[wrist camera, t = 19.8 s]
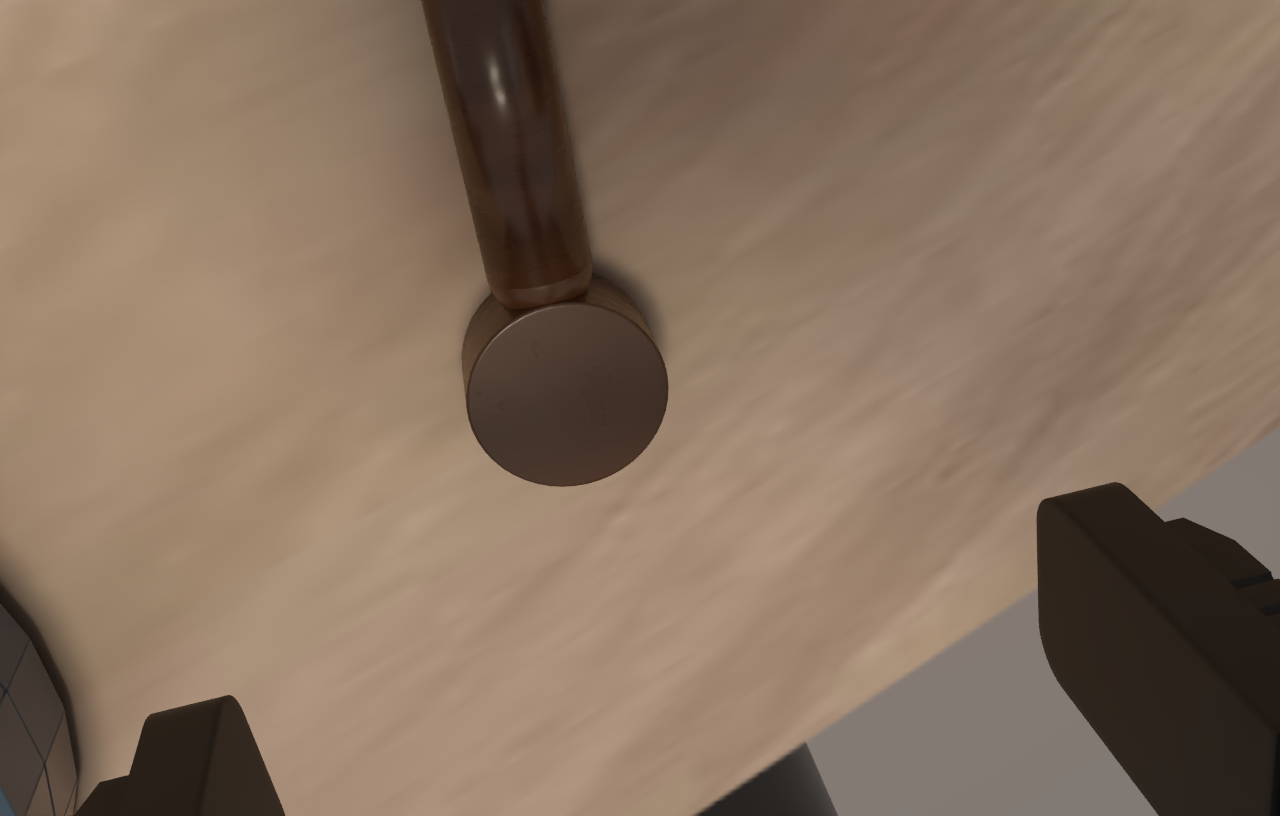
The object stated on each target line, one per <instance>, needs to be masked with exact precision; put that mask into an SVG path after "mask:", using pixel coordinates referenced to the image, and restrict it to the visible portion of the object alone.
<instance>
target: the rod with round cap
mask: <svg viewBox="0 0 1280 816" xmlns="http://www.w3.org/2000/svg"><path fill="white" fill-rule="evenodd" d="M421 2H422V7H423V11H424V15H425V19H426V23H427V28H428V32H429V36H430V40H431V45H432V49H433V53H434V57H435V61H436V66H437V70H438V74H439V78H440V82H441V87H442V91H443V95H444V99H445V104H446V108H447V112H448V116H449V120H450V125H451V129H452V133H453V137H454V142H455V146H456V150H457V154H458V158H459V163H460V167H461V171H462V175H463V180H464V184H465V188H466V192H467V196H468V201H469V205H470V209H471V213H472V217H473V222H474V226H475V230H476V234H477V239H478V243H479V247H480V251H481V255H482V260H483V264H484V268H485V272H486V277H487V280H488V283H489V286H490V289H491V291H492V293H493V294H492V295H491V296H490V297H489V298H488V299H487V300H486V301H485V302H484V303H483V304H482V306H481V307H480V308H479V309H478V311H477V312H476V314H475V316H474V317H473V319H472V321H471V323H470V325H469V328H468V330H467V332H466V336H465V340H464V344H463V351H462V369H463V378H464V388H465V397H466V407H467V413H468V418H469V422H470V425H471V428H472V431H473V433H474V435H475V437H476V439H477V441H478V442H479V444H480V445H481V447H482V448H483V450H484V451H485V452H486V453H487V454H488V455H489V456H490V458H491V459H492V460H493V461H495V462H496V463H497V464H498V465H499V466H501V467H502V468H503V469H505V470H507V471H508V472H510V473H511V474H513V475H515V476H517V477H520V478H522V479H524V480H527V481H530V482H533V483H537V484H542V485H548V486H561V487H563V486H577V485H583V484H588V483H591V482H595V481H598V480H601V479H603V478H606V477H608V476H610V475H612V474H614V473H616V472H618V471H620V470H621V469H623V468H624V467H626V466H627V465H628V464H630V463H631V462H633V461H634V460H635V459H636V458H637V457H638V456H639V455H640V454H641V453H642V452H643V451H644V450H645V448H646V447H647V446H648V445H649V444H650V442H651V441H652V439H653V438H654V436H655V435H656V433H657V431H658V429H659V427H660V425H661V423H662V420H663V417H664V414H665V411H666V406H667V401H668V377H667V372H666V368H665V364H664V361H663V359H662V356H661V354H660V351H659V349H658V347H657V345H656V343H655V341H654V339H653V337H652V335H651V333H650V330H649V328H648V326H647V324H646V322H645V320H644V318H643V316H642V314H641V312H640V311H639V309H638V307H637V306H636V305H635V303H634V302H633V301H632V300H631V298H630V297H629V296H628V295H627V294H626V293H625V292H624V291H623V290H622V289H620V288H619V287H617V286H616V285H615V284H613V283H612V282H610V281H608V280H606V279H605V278H603V277H601V276H598V275H595V274H593V273H592V272H593V267H592V256H591V251H590V246H589V241H588V236H587V230H586V225H585V220H584V215H583V210H582V205H581V199H580V194H579V189H578V184H577V179H576V173H575V168H574V163H573V158H572V153H571V148H570V142H569V137H568V132H567V127H566V122H565V117H564V111H563V106H562V101H561V96H560V91H559V86H558V80H557V75H556V70H555V65H554V60H553V55H552V49H551V44H550V39H549V34H548V29H547V24H546V18H545V13H544V8H543V3H542V0H421Z"/></svg>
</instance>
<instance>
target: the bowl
mask: <svg viewBox="0 0 1280 816" xmlns="http://www.w3.org/2000/svg"><path fill="white" fill-rule="evenodd" d="M76 788H77V775H76V769H75V764H74V758H73V753H72V747H71V741H70V736H69V730H68V725H67V719H66V714H65V711H64V706H63V704H62V702H61V700H60V698H59V696H58V694H57V692H56V690H55V688H54V686H53V684H52V682H51V680H50V678H49V676H48V674H47V672H46V670H45V668H44V666H43V664H42V662H41V660H40V658H39V656H38V654H37V651H36V649H35V647H34V645H33V643H32V641H31V640H30V639H29V637H28V635H27V634H26V633H25V632H24V631H23V629H22V628H21V627H20V626H19V625H18V624H17V622H16V621H15V620H14V619H13V618H12V616H11V615H10V614H9V613H8V612H7V611H6V609H5V608H4V607H3V606H2V605H1V603H0V816H73V811H74V804H75V796H76Z"/></svg>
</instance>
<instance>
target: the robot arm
mask: <svg viewBox="0 0 1280 816" xmlns="http://www.w3.org/2000/svg"><path fill="white" fill-rule="evenodd" d="M1037 563H1038V608H1039V629H1040V635H1041V640H1042V644H1043V648H1044V651H1045V654H1046V657H1047V660H1048V662H1049V665H1050V667H1051V669H1052V671H1053V673H1054V675H1055V677H1056V679H1057V681H1058V682H1059V684H1060V685H1061V687H1062V688H1063V689H1064V691H1065V692H1066V693H1067V695H1068V696H1069V697H1070V699H1071V700H1072V701H1073V703H1074V704H1075V705H1076V707H1077V708H1078V709H1079V711H1080V712H1081V713H1082V715H1083V716H1084V717H1085V718H1086V720H1087V721H1088V722H1089V724H1090V725H1091V726H1092V728H1093V729H1094V730H1095V732H1096V733H1097V734H1098V736H1099V737H1100V738H1101V739H1102V741H1103V742H1104V744H1105V745H1106V746H1107V748H1108V749H1109V750H1110V751H1111V753H1112V754H1113V755H1114V757H1115V758H1116V759H1117V761H1118V762H1119V763H1120V765H1121V766H1122V767H1123V769H1124V770H1125V771H1126V773H1127V774H1128V775H1129V777H1130V778H1131V779H1132V781H1133V782H1134V783H1135V784H1136V786H1137V787H1138V789H1139V790H1140V791H1141V793H1142V794H1143V795H1144V796H1145V798H1146V799H1147V800H1148V802H1149V803H1150V804H1151V806H1152V807H1153V808H1154V810H1155V811H1156V812H1157V814H1158V815H1159V816H1280V579H1275V580H1274V579H1273V577H1272V575H1271V572H1270V571H1269V570H1268V569H1267V568H1266V567H1264V565H1262V564H1261V563H1260V562H1259V561H1258V560H1257V559H1256V558H1254V557H1253V556H1252V555H1251V554H1250V553H1249V552H1248V551H1246V550H1245V549H1244V548H1243V547H1242V546H1241V545H1239V544H1238V543H1237V542H1236V541H1235V540H1233V539H1230V538H1228V537H1226V536H1224V535H1221V534H1219V533H1217V532H1215V531H1212V530H1210V529H1208V528H1206V527H1203V526H1201V525H1199V524H1197V523H1194V522H1192V521H1189V520H1187V519H1185V518H1180V519H1176V520H1172V521H1167V522H1164V521H1163V520H1162V519H1160V517H1159V516H1157V515H1156V514H1155V513H1154V512H1153V511H1152V510H1151V509H1150V508H1149V507H1148V506H1147V505H1146V504H1145V503H1144V502H1142V501H1141V500H1140V499H1139V498H1138V497H1137V496H1136V495H1135V494H1134V493H1133V492H1132V491H1131V490H1129V489H1128V488H1127V487H1126V486H1125V485H1123V484H1121V483H1118V482H1113V483H1109V484H1105V485H1100V486H1096V487H1092V488H1088V489H1084V490H1080V491H1076V492H1072V493H1068V494H1063V495H1059V496H1055V497H1051V498H1047V499H1044V500H1043V501H1041V503H1040V505H1039V508H1038V511H1037ZM74 816H285V813H284V811H283V808H282V805H281V803H280V800H279V798H278V796H277V793H276V791H275V788H274V786H273V783H272V781H271V778H270V776H269V773H268V771H267V769H266V766H265V764H264V761H263V759H262V756H261V754H260V751H259V749H258V747H257V744H256V742H255V739H254V737H253V734H252V732H251V729H250V727H249V725H248V722H247V720H246V717H245V715H244V713H243V710H242V708H241V706H240V705H239V703H238V701H237V700H236V699H235V698H234V697H233V696H231V695H227V696H223V697H219V698H215V699H211V700H206V701H202V702H198V703H194V704H190V705H186V706H182V707H178V708H174V709H169V710H165V711H161V712H157V713H153V714H150V715H149V716H148V717H147V719H146V720H145V723H144V725H143V729H142V732H141V736H140V739H139V742H138V746H137V749H136V753H135V756H134V760H133V763H132V767H131V770H130V774H129V775H128V776H123V777H119V778H115V779H111V780H107V781H103V782H100V783H99V784H98V785H97V787H96V788H95V789H94V791H93V792H92V793H91V794H90V796H89V797H88V798H87V800H86V801H85V802H84V803H83V805H82V806H81V807H80V808H79V810H78V811H77V812H76V814H75V815H74Z"/></svg>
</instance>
